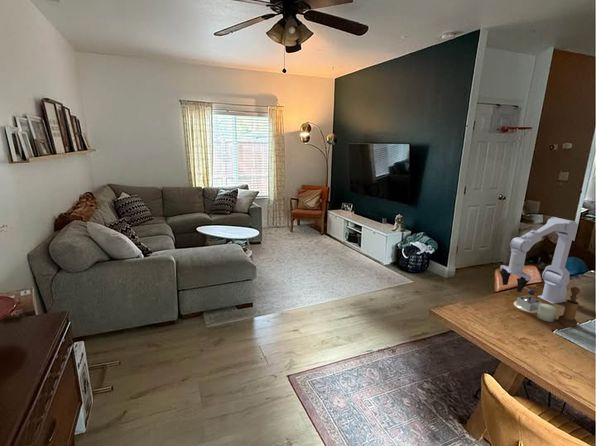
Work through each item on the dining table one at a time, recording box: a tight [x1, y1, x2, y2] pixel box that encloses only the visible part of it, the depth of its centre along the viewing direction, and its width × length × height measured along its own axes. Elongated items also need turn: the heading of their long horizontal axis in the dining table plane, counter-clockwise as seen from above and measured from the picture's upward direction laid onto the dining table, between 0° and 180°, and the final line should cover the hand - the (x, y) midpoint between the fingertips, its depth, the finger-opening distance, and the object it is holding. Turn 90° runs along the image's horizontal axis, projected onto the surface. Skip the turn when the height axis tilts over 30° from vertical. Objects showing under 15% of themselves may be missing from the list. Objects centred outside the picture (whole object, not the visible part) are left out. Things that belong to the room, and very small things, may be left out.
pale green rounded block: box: [536, 303, 557, 323], centre depth 143 cm, size 6×6×6 cm
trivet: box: [513, 300, 538, 314], centre depth 154 cm, size 12×12×1 cm
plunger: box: [523, 288, 536, 303], centre depth 152 cm, size 5×5×6 cm
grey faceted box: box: [516, 294, 543, 311], centre depth 154 cm, size 7×9×4 cm
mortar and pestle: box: [557, 286, 581, 329], centre depth 137 cm, size 7×6×18 cm
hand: (511, 288), depth 152 cm, fingers open, 7 cm apart
